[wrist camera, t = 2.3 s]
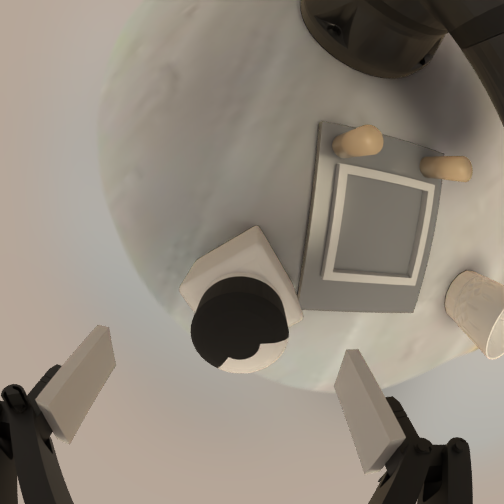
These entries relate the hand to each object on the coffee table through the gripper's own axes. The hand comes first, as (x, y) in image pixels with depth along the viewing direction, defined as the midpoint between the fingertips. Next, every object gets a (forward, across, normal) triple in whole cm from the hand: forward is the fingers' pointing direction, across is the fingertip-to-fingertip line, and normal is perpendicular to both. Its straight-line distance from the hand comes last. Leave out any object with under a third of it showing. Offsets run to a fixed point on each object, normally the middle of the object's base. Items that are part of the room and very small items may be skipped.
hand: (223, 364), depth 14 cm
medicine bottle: (+14, +1, 0) cm, 14 cm away
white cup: (+14, +29, -1) cm, 33 cm away
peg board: (+14, +13, +6) cm, 20 cm away
